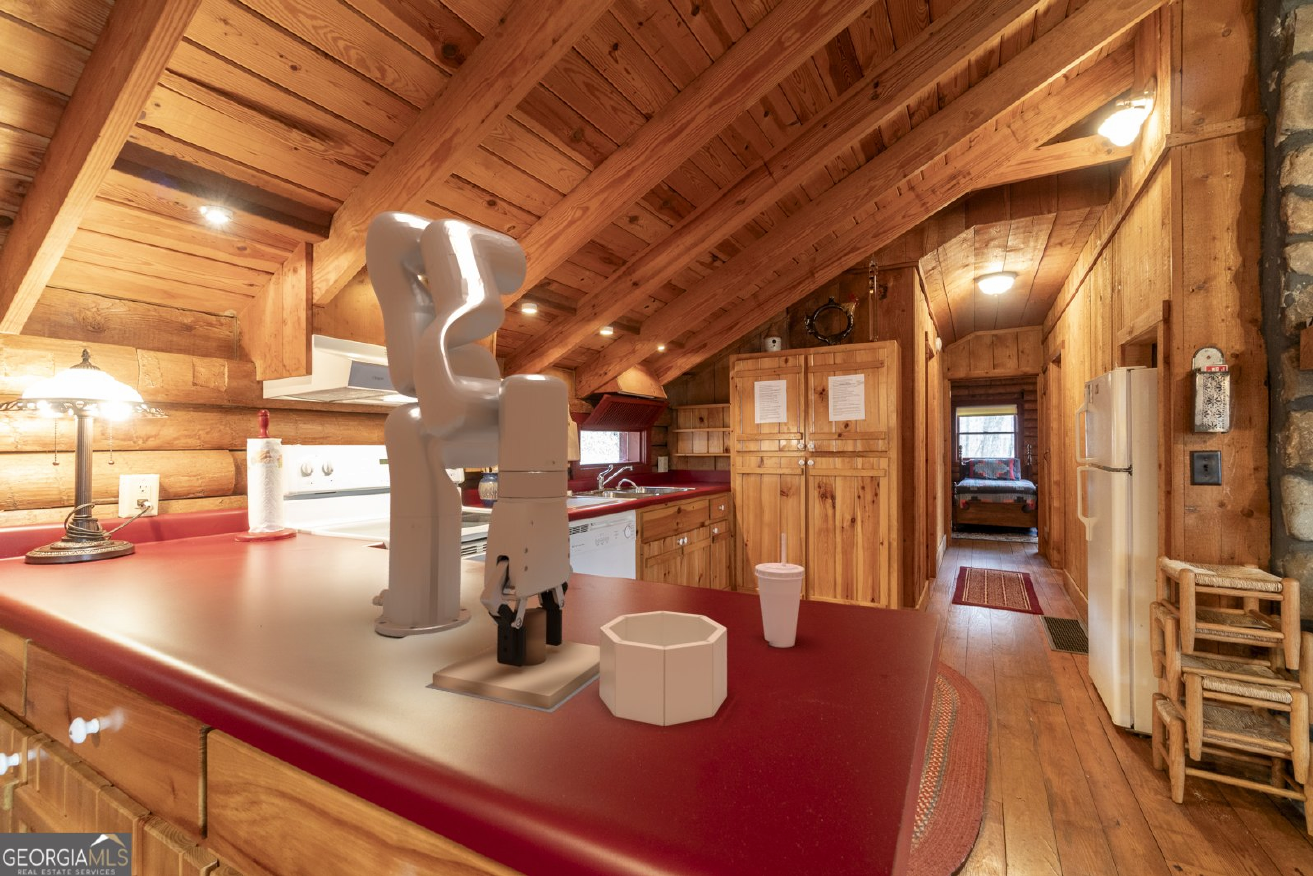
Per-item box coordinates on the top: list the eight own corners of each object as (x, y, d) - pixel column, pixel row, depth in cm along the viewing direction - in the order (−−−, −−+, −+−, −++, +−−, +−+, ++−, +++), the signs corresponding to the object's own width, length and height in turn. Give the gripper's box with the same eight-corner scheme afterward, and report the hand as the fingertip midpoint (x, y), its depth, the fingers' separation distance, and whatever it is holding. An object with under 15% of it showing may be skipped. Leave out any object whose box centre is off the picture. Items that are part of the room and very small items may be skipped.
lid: (432, 685, 57) (433, 621, 57) (516, 643, 70) (517, 592, 70) (549, 709, 51) (550, 639, 52) (617, 659, 64) (617, 603, 65)
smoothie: (807, 652, 68) (806, 537, 69) (753, 649, 70) (753, 536, 70) (803, 636, 75) (803, 531, 75) (755, 633, 76) (755, 530, 76)
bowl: (581, 714, 52) (582, 638, 52) (634, 671, 62) (634, 607, 63) (701, 739, 47) (701, 655, 47) (735, 687, 58) (735, 619, 58)
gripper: (547, 484, 71) (546, 627, 70) (449, 490, 55) (446, 677, 54) (600, 485, 68) (599, 635, 67) (512, 492, 52) (509, 689, 51)
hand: (530, 652), depth 61 cm, fingers open, 6 cm apart
